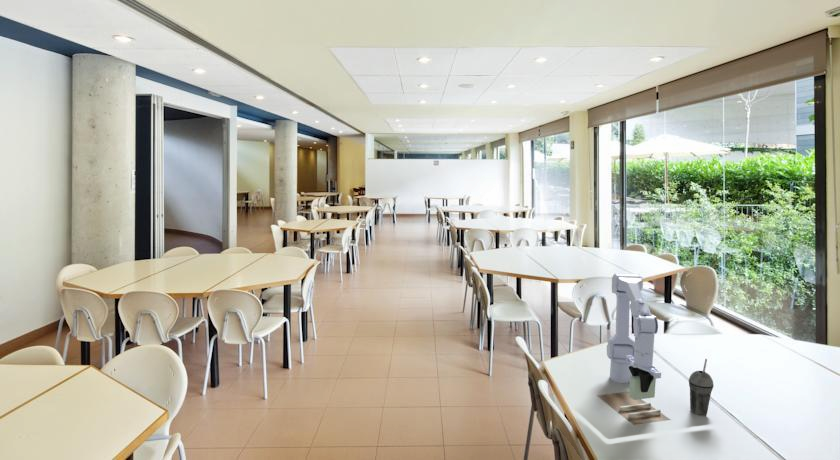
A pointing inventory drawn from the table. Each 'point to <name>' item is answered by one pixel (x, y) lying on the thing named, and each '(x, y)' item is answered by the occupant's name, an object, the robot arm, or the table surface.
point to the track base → (633, 408)
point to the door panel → (636, 389)
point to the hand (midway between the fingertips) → (641, 389)
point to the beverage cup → (700, 391)
